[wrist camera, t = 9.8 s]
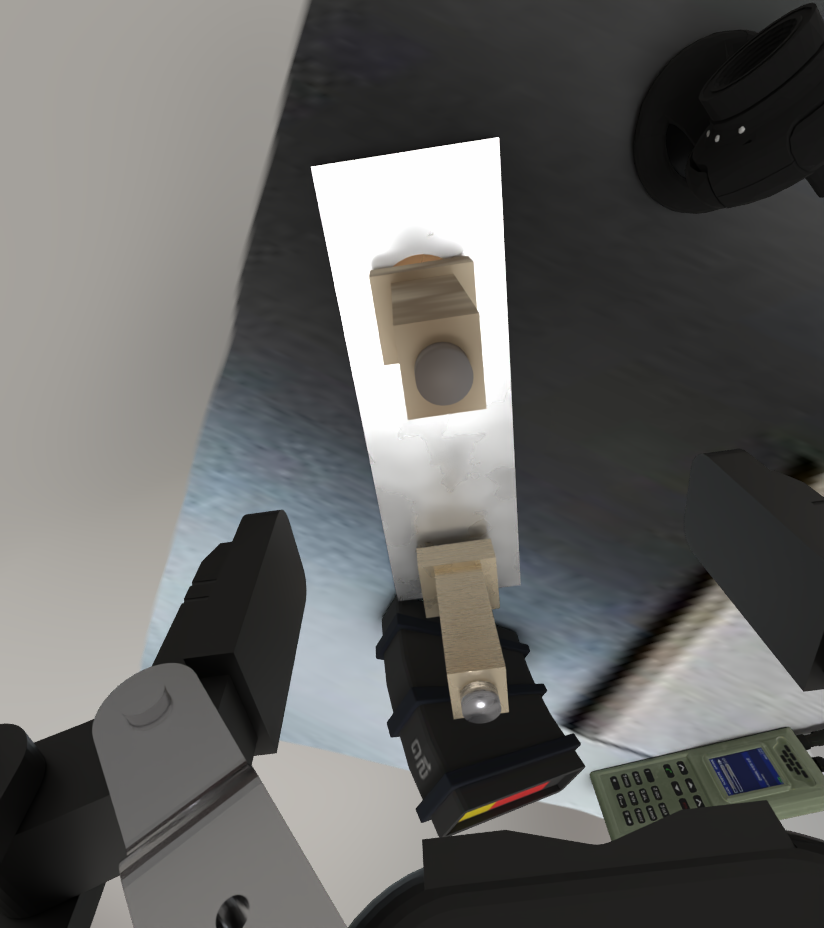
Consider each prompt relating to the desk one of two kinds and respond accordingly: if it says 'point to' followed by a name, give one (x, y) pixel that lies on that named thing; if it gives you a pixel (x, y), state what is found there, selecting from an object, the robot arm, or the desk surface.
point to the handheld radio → (715, 780)
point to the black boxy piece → (469, 729)
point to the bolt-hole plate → (446, 436)
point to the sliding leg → (432, 334)
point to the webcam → (738, 116)
